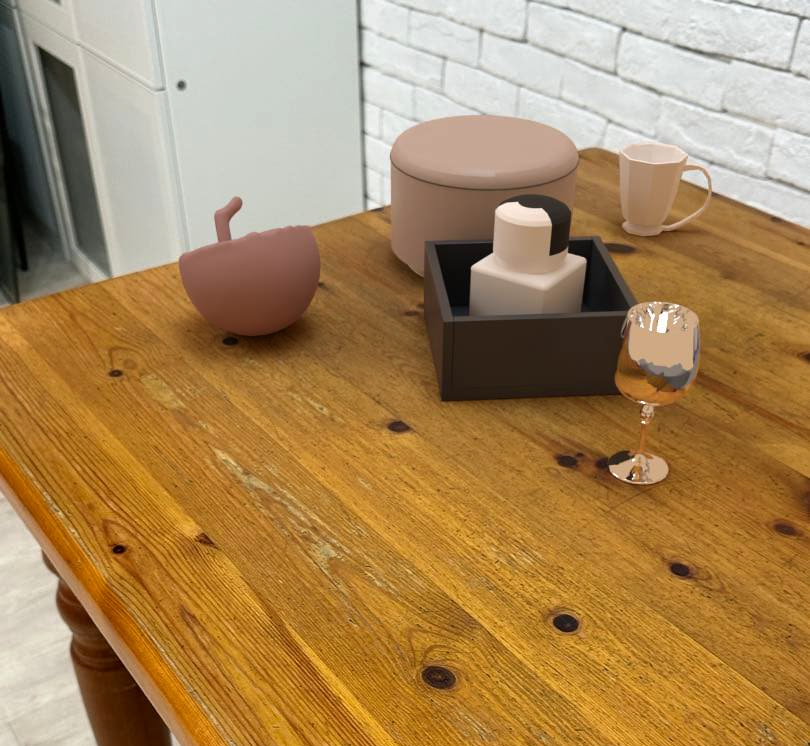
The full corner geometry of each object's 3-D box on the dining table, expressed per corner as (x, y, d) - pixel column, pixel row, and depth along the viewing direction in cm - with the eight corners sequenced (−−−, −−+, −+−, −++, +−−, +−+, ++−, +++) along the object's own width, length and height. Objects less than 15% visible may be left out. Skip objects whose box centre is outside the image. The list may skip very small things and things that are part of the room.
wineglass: (625, 497, 74) (651, 344, 66) (583, 455, 78) (602, 306, 70) (693, 478, 75) (725, 327, 68) (648, 439, 80) (674, 292, 72)
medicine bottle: (508, 313, 94) (517, 180, 86) (579, 335, 91) (595, 198, 83) (465, 344, 89) (471, 206, 82) (538, 368, 86) (551, 226, 79)
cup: (609, 214, 115) (619, 139, 110) (702, 219, 114) (716, 144, 109) (609, 239, 110) (619, 161, 105) (706, 245, 109) (721, 167, 104)
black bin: (590, 308, 97) (599, 235, 93) (632, 393, 85) (644, 314, 81) (423, 313, 96) (424, 240, 92) (441, 401, 84) (443, 321, 80)
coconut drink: (285, 288, 100) (276, 168, 93) (347, 338, 92) (343, 211, 85) (167, 318, 95) (149, 194, 88) (223, 374, 87) (207, 242, 80)
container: (362, 240, 109) (359, 124, 102) (512, 213, 115) (520, 102, 108) (439, 310, 97) (442, 184, 89) (603, 275, 103) (618, 155, 95)
